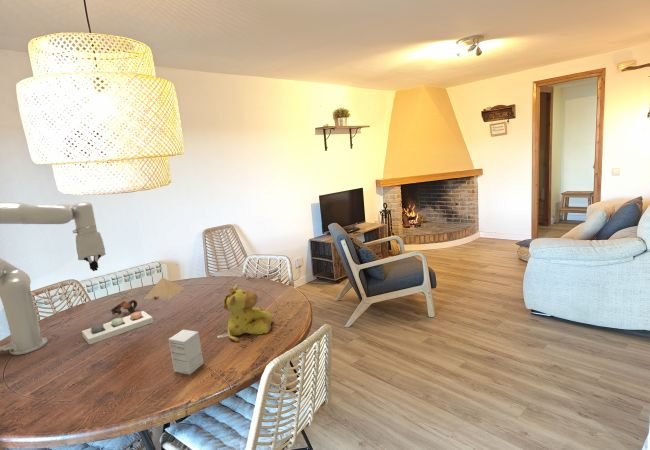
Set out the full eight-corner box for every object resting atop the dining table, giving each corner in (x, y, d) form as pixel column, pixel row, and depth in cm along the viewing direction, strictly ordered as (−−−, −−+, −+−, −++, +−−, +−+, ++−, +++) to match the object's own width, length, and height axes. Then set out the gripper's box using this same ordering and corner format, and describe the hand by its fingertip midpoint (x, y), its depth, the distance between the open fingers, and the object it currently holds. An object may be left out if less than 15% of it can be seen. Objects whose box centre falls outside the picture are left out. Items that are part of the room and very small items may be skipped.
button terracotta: (133, 324, 170) (132, 316, 169) (130, 321, 173) (129, 314, 172) (144, 320, 173) (142, 313, 172) (140, 318, 176) (139, 310, 176)
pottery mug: (124, 321, 177) (113, 308, 176) (117, 326, 183) (106, 313, 181) (144, 306, 186) (134, 293, 185) (137, 310, 192) (126, 298, 191)
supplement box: (188, 360, 136) (183, 328, 134) (204, 363, 133) (199, 331, 131) (173, 371, 130) (167, 338, 127) (189, 375, 127) (184, 341, 124)
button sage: (114, 330, 164) (113, 323, 164) (111, 328, 168) (110, 320, 167) (125, 327, 168) (124, 319, 167) (122, 324, 171) (121, 316, 170)
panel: (89, 344, 155) (88, 339, 154) (82, 336, 163) (81, 330, 163) (153, 322, 172) (152, 317, 172) (144, 315, 181) (143, 310, 180)
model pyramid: (141, 300, 203) (138, 283, 202) (160, 288, 220) (157, 272, 218) (169, 300, 201) (166, 282, 199) (186, 288, 217) (183, 272, 216)
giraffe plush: (281, 328, 156) (276, 285, 153) (227, 348, 143) (221, 302, 140) (259, 314, 173) (255, 274, 169) (210, 330, 160) (204, 288, 156)
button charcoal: (94, 337, 159) (92, 329, 158) (91, 334, 162) (89, 326, 162) (106, 333, 162) (104, 325, 161) (103, 330, 165) (101, 322, 165)
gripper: (68, 234, 156) (77, 276, 160) (108, 228, 166) (115, 267, 170) (65, 233, 162) (73, 273, 165) (103, 226, 172) (110, 264, 175)
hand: (94, 270), depth 167 cm, fingers closed
